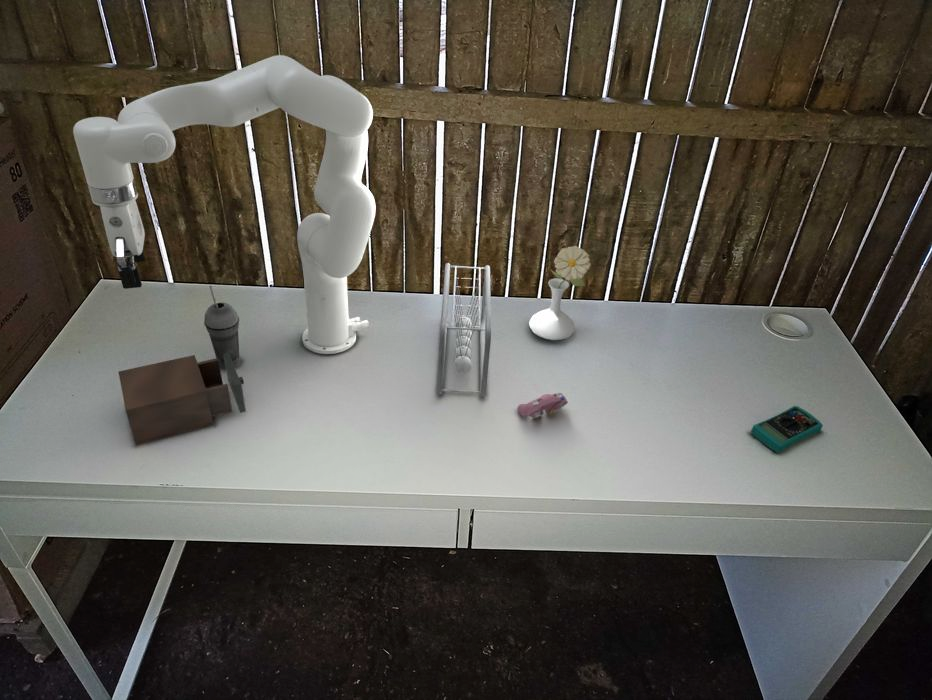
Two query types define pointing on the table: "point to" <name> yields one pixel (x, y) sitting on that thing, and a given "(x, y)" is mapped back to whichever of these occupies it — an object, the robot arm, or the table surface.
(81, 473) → the table surface
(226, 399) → the drawer
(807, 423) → the digital multimeter
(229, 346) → the beverage cup
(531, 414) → the pink toy car
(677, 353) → the table surface
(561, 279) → the flower in vase
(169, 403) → the cabinet
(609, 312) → the table surface
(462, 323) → the newton's cradle
